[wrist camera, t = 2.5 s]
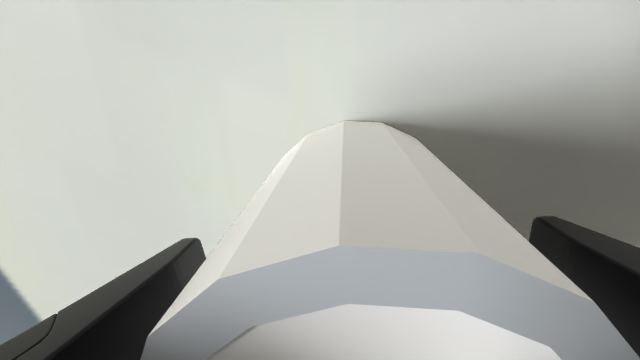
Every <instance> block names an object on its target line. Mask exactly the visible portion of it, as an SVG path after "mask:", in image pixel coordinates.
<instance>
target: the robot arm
mask: <svg viewBox="0 0 640 360" xmlns="http://www.w3.org/2000/svg"><path fill="white" fill-rule="evenodd" d="M529 243H531V244H532V245H533V246H534V247H535V248H536V249H537V250H538V251H539V252H540V253H541V254H543V255H544V256H545V257H546V258H547V259H548V260H549V261H550V262H551V263H552V264H553V265H555V266H556V267H557V268H558V269H559V270H560V271H561V272H562V273H563V274H564V275H566V276H567V277H568V278H569V279H570V280H571V281H572V282H573V283H574V284H575V285H576V286H578V287H579V288H580V289H581V290H582V291H583V292H584V293H585V294H586V295H587V296H588V297H590V298H591V299H592V300H593V301H594V302H595V303H596V305H597V306H598V307H599V308H600V309H601V311H602V312H603V313H604V314H605V316H606V317H607V318H608V319H609V321H610V322H611V323H612V324H613V326H614V327H615V328H616V329H617V330H618V332H619V333H620V334H621V335H622V337H623V338H624V339H625V340H626V342H627V343H628V344H629V345H630V347H631V348H632V349H633V350H634V351H635V353H636V354H637V355H638V356H639V358H640V248H638V247H635V246H632V245H630V244H627V243H624V242H622V241H619V240H616V239H614V238H611V237H608V236H606V235H603V234H600V233H598V232H595V231H592V230H589V229H587V228H584V227H581V226H579V225H576V224H573V223H571V222H568V221H565V220H563V219H560V218H557V217H554V216H543V217H536V218H535V219H534V220H533V223H532V228H531V233H530V239H529ZM205 260H206V257H205V254H204V251H203V247H202V244H201V242H200V240H199V239H198V238H185V239H182V240H180V241H179V242H177V243H175V244H173V245H172V246H170V247H168V248H167V249H165V250H163V251H161V252H160V253H158V254H156V255H155V256H153V257H151V258H150V259H148V260H146V261H144V262H143V263H141V264H139V265H138V266H136V267H134V268H132V269H131V270H129V271H127V272H126V273H124V274H122V275H120V276H119V277H117V278H115V279H114V280H112V281H110V282H109V283H107V284H105V285H103V286H102V287H100V288H98V289H97V290H95V291H93V292H91V293H90V294H88V295H86V296H85V297H83V298H81V299H80V300H78V301H76V302H74V303H73V304H71V305H69V306H68V307H66V308H64V309H62V310H61V311H59V312H58V314H54V315H52V316H50V317H49V318H47V319H45V320H44V321H42V322H40V323H39V324H37V325H35V326H33V327H31V328H30V329H28V330H26V331H25V332H23V333H21V334H19V335H17V336H16V337H14V338H12V339H10V340H8V341H7V342H5V343H3V344H1V345H0V360H140V359H141V356H142V353H143V350H144V346H145V343H146V340H147V337H148V335H149V334H150V333H151V331H152V330H153V329H154V327H155V326H156V325H157V323H158V322H159V321H160V319H161V318H162V317H163V316H164V314H165V313H166V312H167V310H168V309H169V308H170V306H171V305H172V304H173V302H174V301H175V300H176V298H177V297H178V296H179V294H180V293H181V292H182V290H183V289H184V288H185V286H186V285H187V284H188V282H189V281H190V280H191V278H192V277H193V276H194V274H195V273H196V272H197V270H198V269H199V268H200V266H201V265H202V264H203V262H204V261H205Z"/></svg>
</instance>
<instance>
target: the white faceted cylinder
mask: <svg viewBox="0 0 640 360" xmlns="http://www.w3.org/2000/svg"><path fill="white" fill-rule="evenodd" d="M140 360H640V358H639V356H638V355H637V354H636V353H635V351H634V350H633V349H632V348H631V347H630V345H629V344H628V343H627V342H626V340H625V339H624V338H623V337H622V335H621V334H620V333H619V332H618V330H617V329H616V328H615V327H614V326H613V324H612V323H611V322H610V321H609V319H608V318H607V317H606V316H605V314H604V313H603V312H602V311H601V309H600V308H599V307H598V306H597V305H596V303H595V302H594V301H593V300H592V299H591V298H590V297H588V296H587V295H586V294H585V293H584V292H583V291H582V290H581V289H580V288H579V287H578V286H576V285H575V284H574V283H573V282H572V281H571V280H570V279H569V278H568V277H567V276H566V275H564V274H563V273H562V272H561V271H560V270H559V269H558V268H557V267H556V266H555V265H553V264H552V263H551V262H550V261H549V260H548V259H547V258H546V257H545V256H544V255H543V254H541V253H540V252H539V251H538V250H537V249H536V248H535V247H534V246H533V245H532V244H531V243H529V242H528V241H527V240H526V239H525V238H524V237H523V236H522V235H521V234H520V233H519V232H517V231H516V230H515V229H514V228H513V227H512V226H511V225H510V224H509V223H508V222H507V221H505V220H504V219H503V218H502V217H501V216H500V215H499V214H498V213H497V212H496V211H495V210H493V209H492V208H491V207H490V206H489V205H488V204H487V203H486V202H485V201H484V200H483V199H481V198H480V197H479V196H478V195H477V194H476V193H475V192H474V191H473V190H472V189H471V188H469V187H468V186H467V185H466V184H465V183H464V182H463V181H462V180H461V179H460V178H458V177H457V176H456V175H455V174H454V173H453V172H452V171H451V170H450V169H449V168H448V167H446V166H445V165H444V164H443V163H442V162H441V161H440V160H439V159H438V158H437V157H436V156H434V155H433V154H432V153H431V152H430V151H429V150H428V149H427V148H426V147H425V146H424V145H422V144H421V143H420V142H419V141H418V140H417V139H416V138H415V137H412V136H410V135H408V134H406V133H404V132H402V131H399V130H397V129H395V128H393V127H391V126H389V125H386V124H384V123H382V122H361V121H342V122H339V123H336V124H333V125H331V126H328V127H325V128H322V129H319V130H317V131H314V132H311V133H309V134H307V135H306V136H305V137H304V138H303V139H302V140H301V141H300V142H299V143H298V144H297V145H295V146H294V147H293V148H292V149H291V150H290V151H289V152H288V153H287V154H286V155H284V156H283V158H282V159H281V160H280V162H279V163H278V164H277V166H276V167H275V168H274V170H273V171H272V172H271V174H270V175H269V176H268V178H267V179H266V180H265V182H264V183H263V184H262V186H261V187H260V188H259V189H258V191H257V192H256V193H255V195H254V196H253V197H252V199H251V200H250V201H249V203H248V204H247V205H246V207H245V208H244V209H243V211H242V212H241V213H240V215H239V216H238V217H237V219H236V220H235V221H234V223H233V224H232V225H231V227H230V228H229V229H228V231H227V232H226V233H225V235H224V236H223V237H222V239H221V240H220V241H219V243H218V244H217V245H216V247H215V248H214V249H213V251H212V252H211V253H210V254H209V256H208V257H207V258H206V260H205V261H204V262H203V264H202V265H201V266H200V268H199V269H198V270H197V272H196V273H195V274H194V276H193V277H192V278H191V280H190V281H189V282H188V284H187V285H186V286H185V288H184V289H183V290H182V292H181V293H180V294H179V296H178V297H177V298H176V300H175V301H174V302H173V304H172V305H171V306H170V308H169V309H168V310H167V312H166V313H165V314H164V316H163V317H162V318H161V319H160V321H159V322H158V323H157V325H156V326H155V327H154V329H153V330H152V331H151V333H150V334H149V335H148V337H147V340H146V343H145V346H144V350H143V353H142V356H141V359H140Z"/></svg>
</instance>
